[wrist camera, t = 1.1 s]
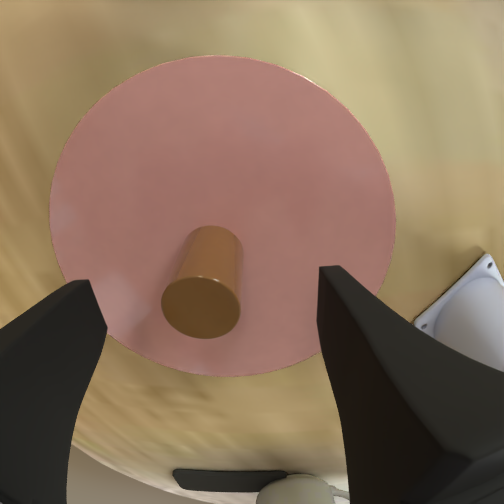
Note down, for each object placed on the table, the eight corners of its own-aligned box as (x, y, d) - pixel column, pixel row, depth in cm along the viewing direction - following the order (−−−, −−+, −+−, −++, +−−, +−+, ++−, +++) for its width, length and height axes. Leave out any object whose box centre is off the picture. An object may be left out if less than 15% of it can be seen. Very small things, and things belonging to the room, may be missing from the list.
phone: (284, 491, 37) (181, 489, 37) (283, 486, 37) (182, 485, 37) (287, 474, 33) (170, 472, 33) (287, 469, 34) (171, 467, 34)
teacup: (249, 493, 38) (252, 538, 31) (257, 469, 33) (262, 525, 26) (336, 486, 39) (345, 527, 32) (361, 459, 34) (375, 508, 27)
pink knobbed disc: (427, 113, 11) (499, 132, 7) (326, 374, 17) (339, 440, 13) (68, 52, 9) (-5, 48, 5) (77, 332, 16) (45, 392, 12)
